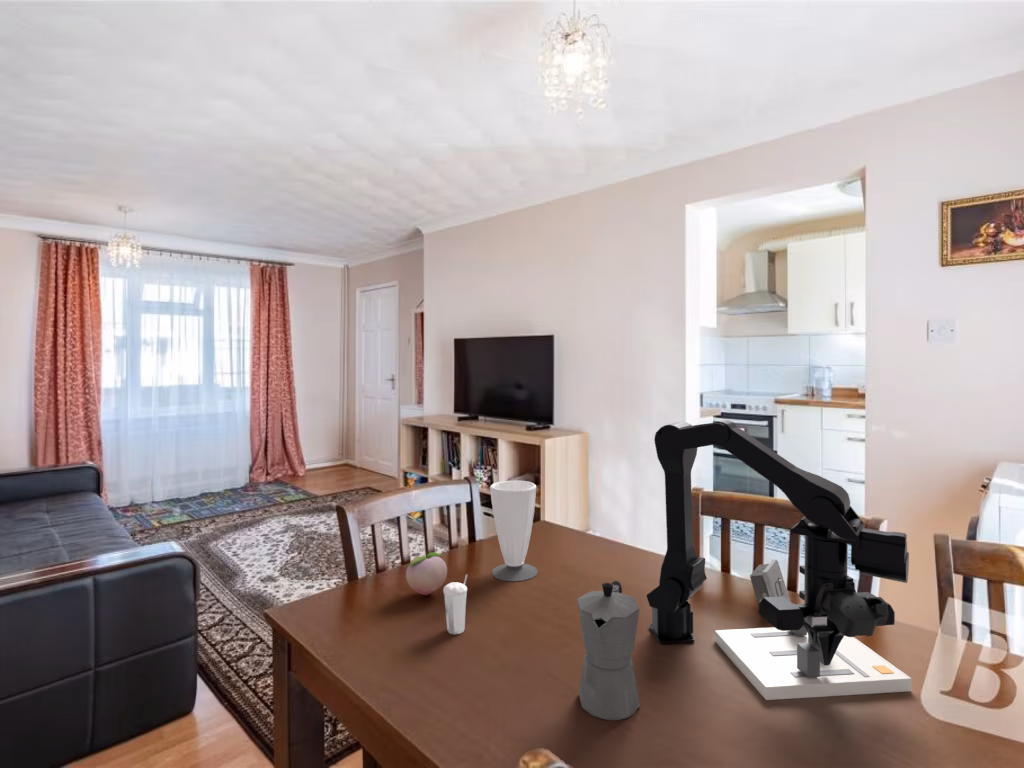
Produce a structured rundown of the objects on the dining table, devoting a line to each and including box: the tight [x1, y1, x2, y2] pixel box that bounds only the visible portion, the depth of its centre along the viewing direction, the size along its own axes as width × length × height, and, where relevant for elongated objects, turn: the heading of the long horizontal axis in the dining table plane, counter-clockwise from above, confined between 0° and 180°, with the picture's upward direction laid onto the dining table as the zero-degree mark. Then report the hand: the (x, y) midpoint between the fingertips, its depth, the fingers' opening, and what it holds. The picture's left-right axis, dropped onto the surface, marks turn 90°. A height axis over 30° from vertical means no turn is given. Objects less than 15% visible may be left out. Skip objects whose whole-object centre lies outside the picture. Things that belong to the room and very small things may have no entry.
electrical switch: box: [749, 559, 791, 606], centre depth 108 cm, size 9×5×9 cm, turn 141°
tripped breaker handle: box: [797, 643, 820, 678], centre depth 82 cm, size 2×3×4 cm
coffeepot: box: [576, 580, 641, 721], centre depth 80 cm, size 15×9×18 cm, turn 159°
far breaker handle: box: [790, 626, 807, 636], centre depth 94 cm, size 2×3×4 cm
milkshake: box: [442, 574, 469, 636], centre depth 102 cm, size 4×5×10 cm
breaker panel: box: [714, 626, 912, 701], centre depth 88 cm, size 23×17×2 cm
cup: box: [489, 479, 539, 583], centre depth 129 cm, size 12×12×22 cm
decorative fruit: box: [405, 550, 448, 596], centre depth 117 cm, size 9×8×10 cm
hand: (824, 664), depth 82 cm, fingers closed
